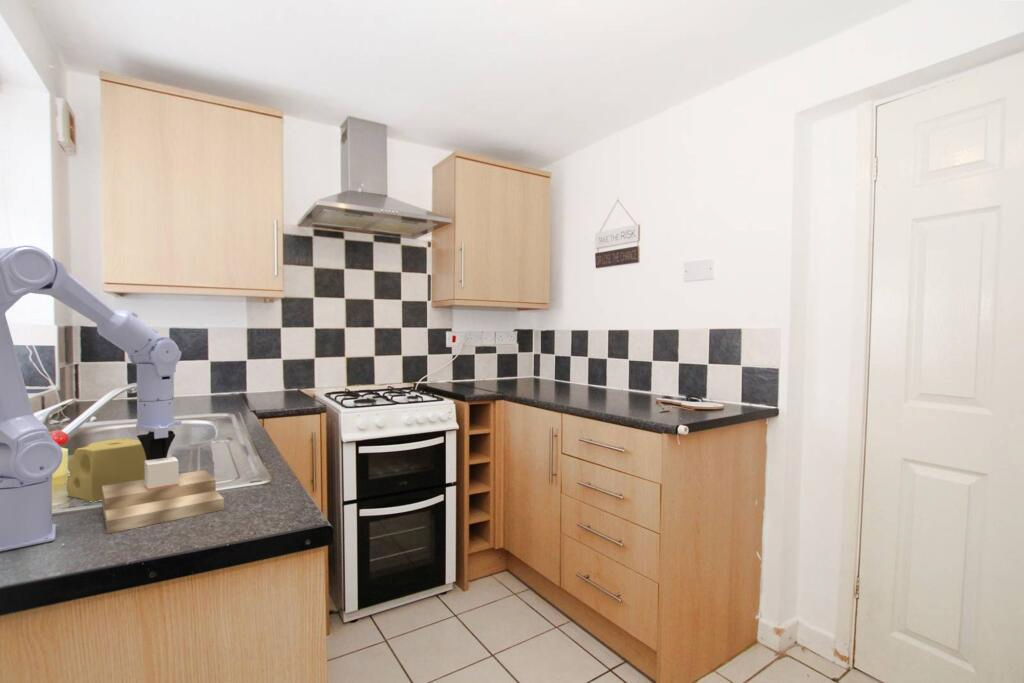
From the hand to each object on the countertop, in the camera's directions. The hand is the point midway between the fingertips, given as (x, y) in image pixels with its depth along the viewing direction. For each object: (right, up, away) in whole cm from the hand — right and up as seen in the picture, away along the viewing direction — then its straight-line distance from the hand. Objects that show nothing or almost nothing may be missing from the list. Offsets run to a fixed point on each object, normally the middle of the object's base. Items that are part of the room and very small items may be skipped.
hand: (156, 471), depth 94 cm
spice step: (+5, -5, -6) cm, 9 cm away
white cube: (+5, -1, -5) cm, 7 cm away
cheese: (-12, -6, +5) cm, 14 cm away
